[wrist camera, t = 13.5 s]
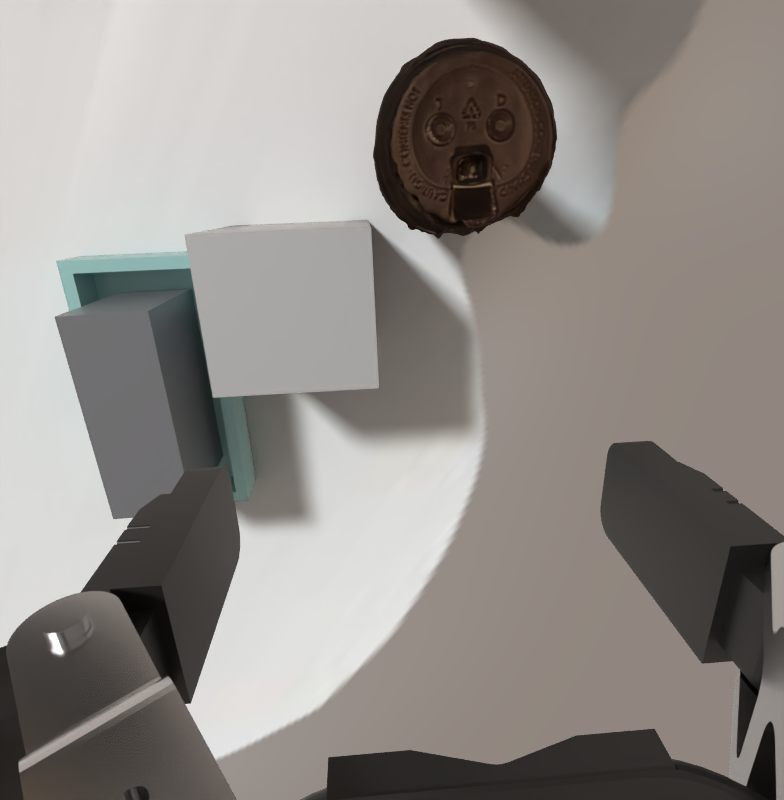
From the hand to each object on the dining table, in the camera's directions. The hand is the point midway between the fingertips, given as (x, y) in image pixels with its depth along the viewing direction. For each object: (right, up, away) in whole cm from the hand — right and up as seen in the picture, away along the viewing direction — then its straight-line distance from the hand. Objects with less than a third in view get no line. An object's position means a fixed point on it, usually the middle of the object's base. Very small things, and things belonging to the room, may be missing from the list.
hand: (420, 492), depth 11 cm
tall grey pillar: (-17, +4, +27) cm, 32 cm away
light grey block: (-7, +10, +26) cm, 29 cm away
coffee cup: (+2, +18, +24) cm, 30 cm away
